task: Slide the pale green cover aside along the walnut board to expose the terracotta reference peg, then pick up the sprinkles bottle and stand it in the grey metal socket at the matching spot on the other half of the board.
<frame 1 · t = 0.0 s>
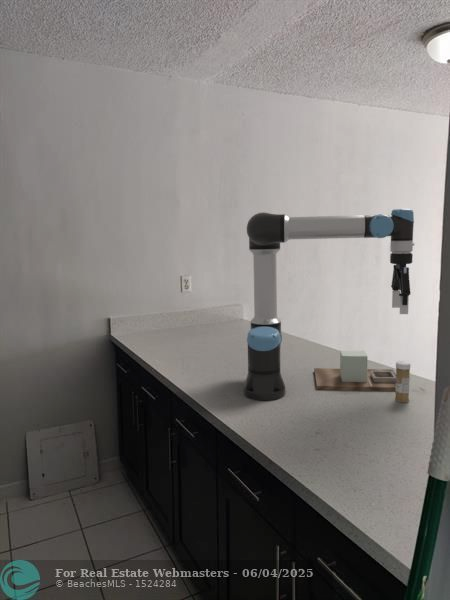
hand: (399, 310, 174), 28 cm above the worktop, fingers open, 13 cm apart
sprinkles bottle: (401, 401, 162), on the worktop
board: (356, 381, 183), on the worktop
cover: (353, 366, 181), point 7 cm above the worktop, slide at 0.0 cm
socket: (382, 383, 180), resting on board
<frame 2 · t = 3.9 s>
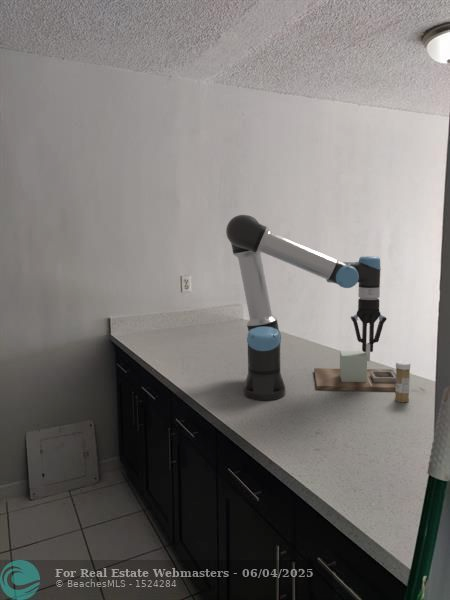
hand: (367, 360, 179), 9 cm above the worktop, fingers closed
cover: (352, 366, 181), point 7 cm above the worktop, slide at 0.2 cm, touching gripper
everything else where it was.
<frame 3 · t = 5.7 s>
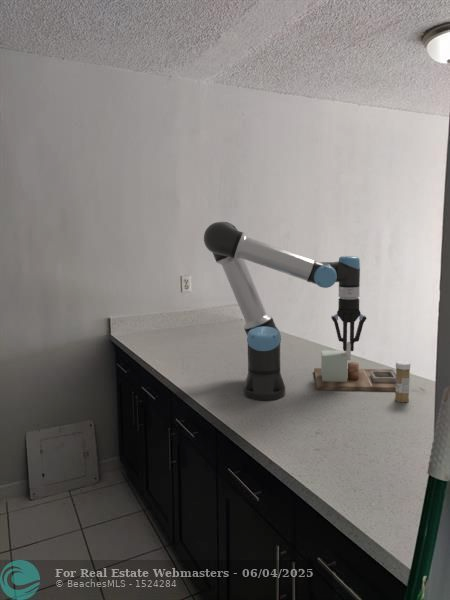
hand: (348, 359, 180), 9 cm above the worktop, fingers closed
cover: (333, 365, 182), point 7 cm above the worktop, slide at 7.2 cm, touching gripper
everything else where it was.
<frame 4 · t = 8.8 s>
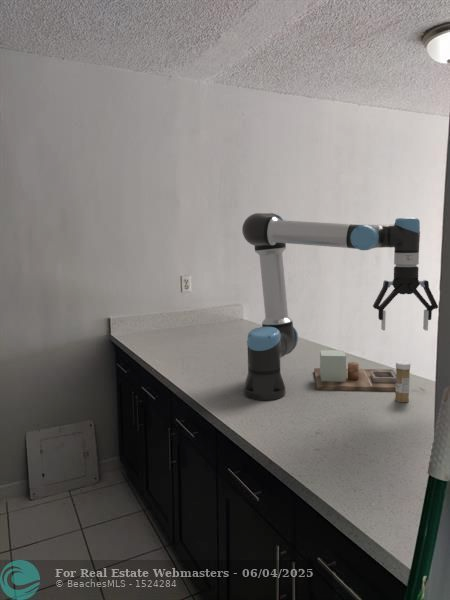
hand: (404, 329, 158), 25 cm above the worktop, fingers open, 13 cm apart
cover: (332, 365, 182), point 7 cm above the worktop, slide at 7.7 cm
everything else where it was.
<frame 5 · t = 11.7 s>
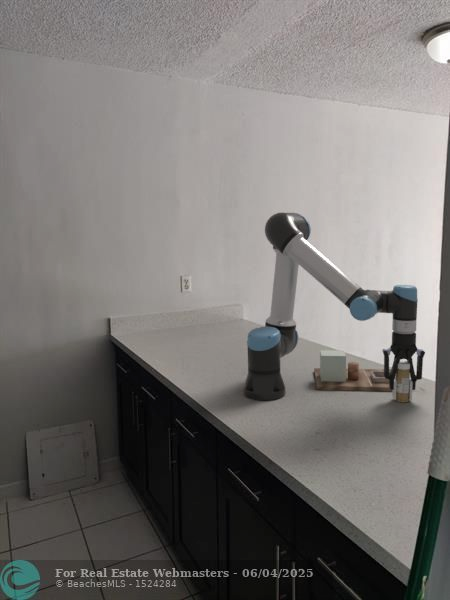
hand: (401, 398, 162), 1 cm above the worktop, fingers closed on sprinkles bottle, 4 cm apart
sprinkles bottle: (401, 401, 162), on the worktop, touching gripper
everything else where it was.
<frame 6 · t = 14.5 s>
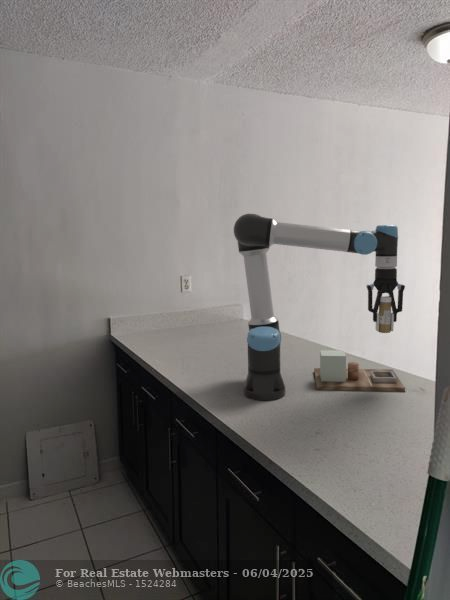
hand: (384, 330, 177), 21 cm above the worktop, fingers closed on sprinkles bottle, 4 cm apart
sprinkles bottle: (384, 332, 177), point 20 cm above the worktop, touching gripper
everything else where it was.
when the fingers open (5 cm above the worktop, at t = 17.6 s): sprinkles bottle drops 3 cm, resting on board.
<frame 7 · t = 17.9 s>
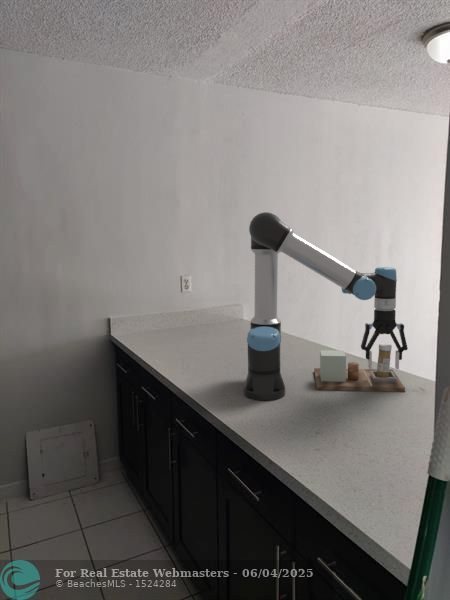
hand: (383, 367, 179), 6 cm above the worktop, fingers open, 9 cm apart
sprinkles bottle: (382, 379, 180), point 1 cm above the worktop, touching board
everything else where it was.
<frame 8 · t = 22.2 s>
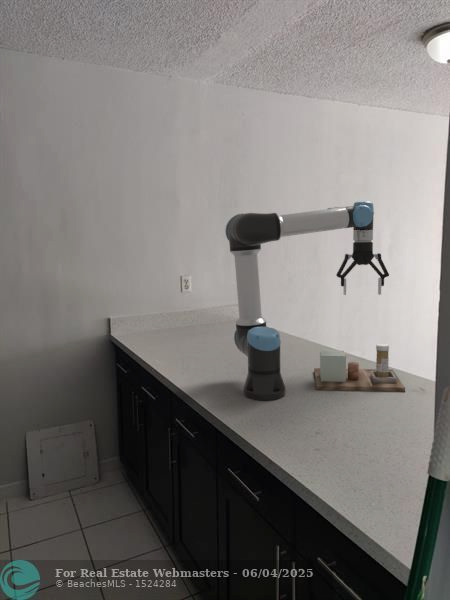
hand: (362, 294, 192), 32 cm above the worktop, fingers open, 13 cm apart
at the end: cover slide at 7.7 cm; sprinkles bottle 0.3 cm from the socket (horizontally); sprinkles bottle tilted 1° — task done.
